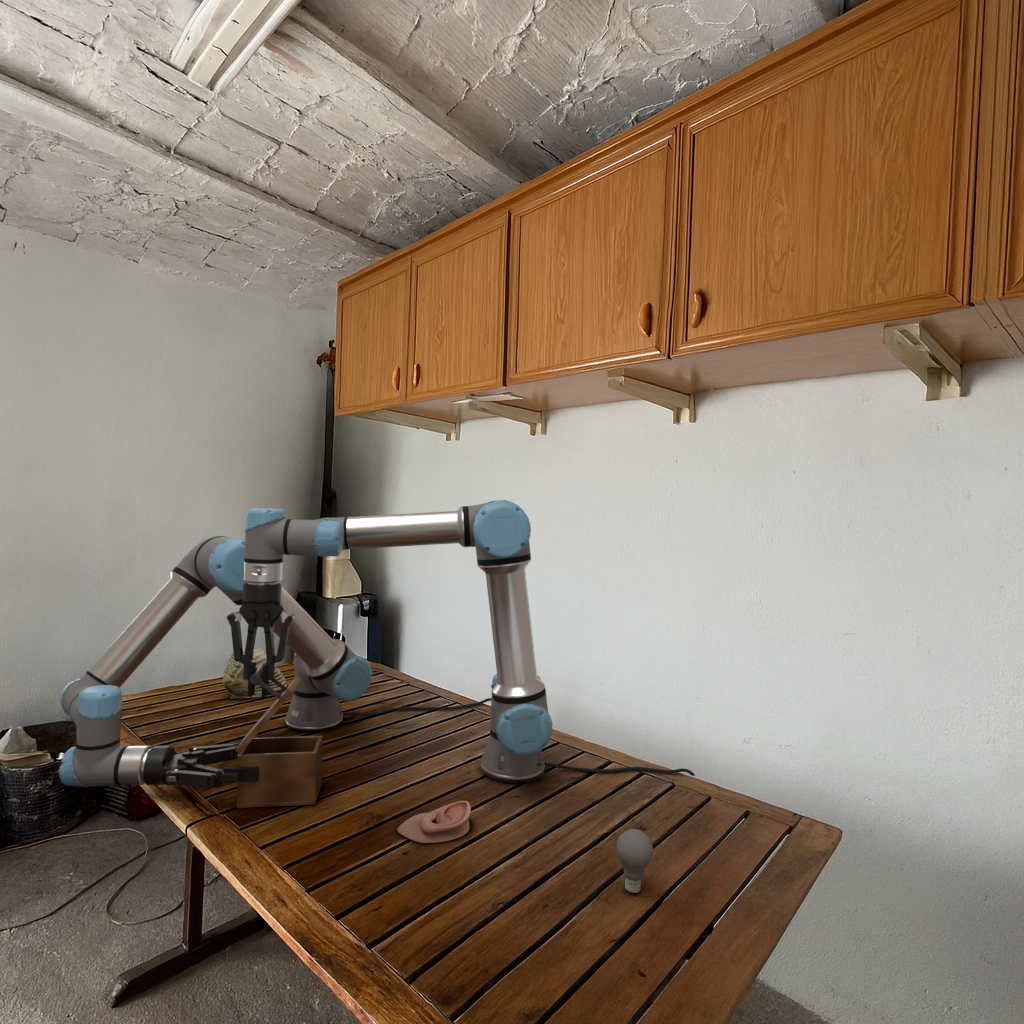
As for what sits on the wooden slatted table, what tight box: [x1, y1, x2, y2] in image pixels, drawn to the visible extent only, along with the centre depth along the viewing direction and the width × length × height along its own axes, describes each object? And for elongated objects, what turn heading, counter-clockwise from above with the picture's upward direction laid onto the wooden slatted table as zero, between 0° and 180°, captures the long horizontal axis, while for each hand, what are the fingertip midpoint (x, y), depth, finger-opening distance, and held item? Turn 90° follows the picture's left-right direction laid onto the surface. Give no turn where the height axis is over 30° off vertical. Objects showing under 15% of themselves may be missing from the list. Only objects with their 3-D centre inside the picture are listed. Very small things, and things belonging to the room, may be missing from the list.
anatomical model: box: [396, 800, 472, 844], centre depth 123 cm, size 13×4×12 cm
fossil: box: [222, 646, 288, 699], centre depth 198 cm, size 9×18×15 cm, turn 132°
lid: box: [235, 666, 301, 754], centre depth 132 cm, size 16×9×9 cm
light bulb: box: [615, 828, 654, 894], centre depth 106 cm, size 6×6×10 cm
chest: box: [236, 735, 324, 809], centre depth 133 cm, size 15×9×11 cm, turn 99°
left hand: (264, 763), depth 133 cm, fingers closed on chest, 9 cm apart
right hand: (258, 694), depth 132 cm, fingers closed on lid, 2 cm apart
